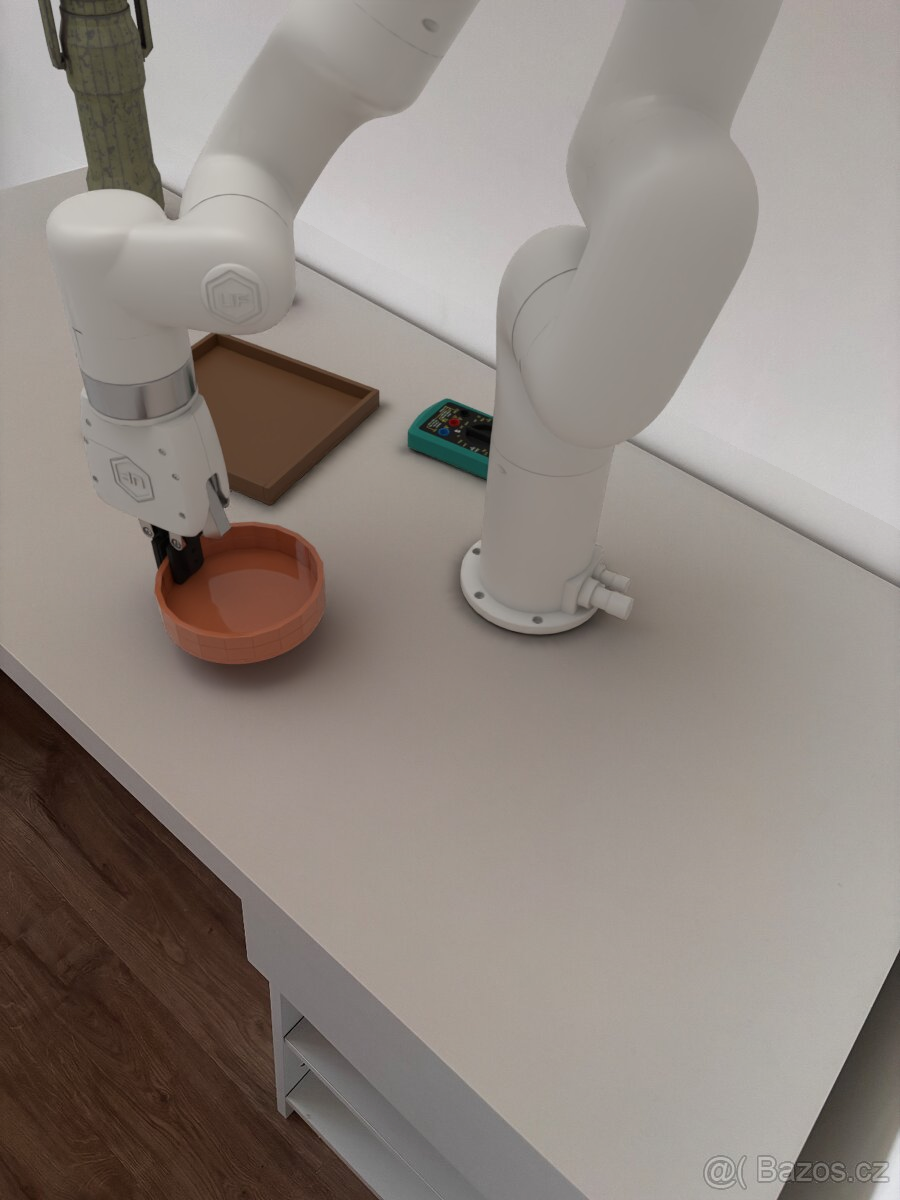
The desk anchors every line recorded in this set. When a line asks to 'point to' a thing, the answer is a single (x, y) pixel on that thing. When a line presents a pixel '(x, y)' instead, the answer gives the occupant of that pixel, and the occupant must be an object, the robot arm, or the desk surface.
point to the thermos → (108, 88)
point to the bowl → (245, 595)
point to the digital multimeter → (454, 435)
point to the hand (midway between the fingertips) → (182, 569)
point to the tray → (274, 412)
